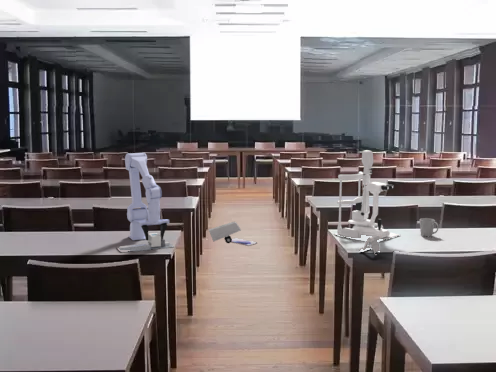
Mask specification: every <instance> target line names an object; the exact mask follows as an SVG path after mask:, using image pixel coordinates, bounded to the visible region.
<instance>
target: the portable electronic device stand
mask: <svg viewBox="0 0 496 372" xmlns="http://www.w3.org/2000/svg"><path fill="white" fill-rule="evenodd" d="M381 238H382V236H381V235H376V236H373V237H369V238H368V239H367V241H366V242H365V244H364V246H363V247H360V248H359V249H358V251H359V250H361V249H363V250H365V249H366V248H370V247H371V248H373V249H372V250H373V253H374V256H377V255H378V254H375V252H377V251H381V249H380V246H379V243H378V242H377V240H379V239H381ZM369 242H371V243H369ZM369 244H371V245H369ZM377 253H378V252H377Z"/></svg>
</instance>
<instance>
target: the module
mask: <svg viewBox="0 0 496 372" xmlns="http://www.w3.org/2000/svg"><path fill="white" fill-rule="evenodd" d="M148 243H151V247H157V246H161V236H160V234H159V233H157V232H152V233H150V232H148V241H147V244H148Z"/></svg>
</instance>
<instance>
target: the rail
mask: <svg viewBox="0 0 496 372" xmlns="http://www.w3.org/2000/svg"><path fill="white" fill-rule="evenodd" d="M118 247H119V249H120V250H130V251H135V252H143V250H144V251H152V250H151V249H153V250H159V249H158V248H162V249H169V248H168V247H172V248H174V247H175V246H174V245H172V244H171V242H169V241H166V240H165V239H164V238H163V239H161V246H157V247H151V243H148V242H147V243H141V244H140V243H139V244H130V245H122V246H121V245H120V246H118Z"/></svg>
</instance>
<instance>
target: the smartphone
mask: <svg viewBox="0 0 496 372" xmlns="http://www.w3.org/2000/svg"><path fill="white" fill-rule="evenodd" d="M231 239H232V242H231V243H232V244H237V245H241V246H245V247H246V246H247V247H252V246H254V245H257V244H258V242H256V241H253V240H247V239H242V238H237V237H234V238H231Z"/></svg>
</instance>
